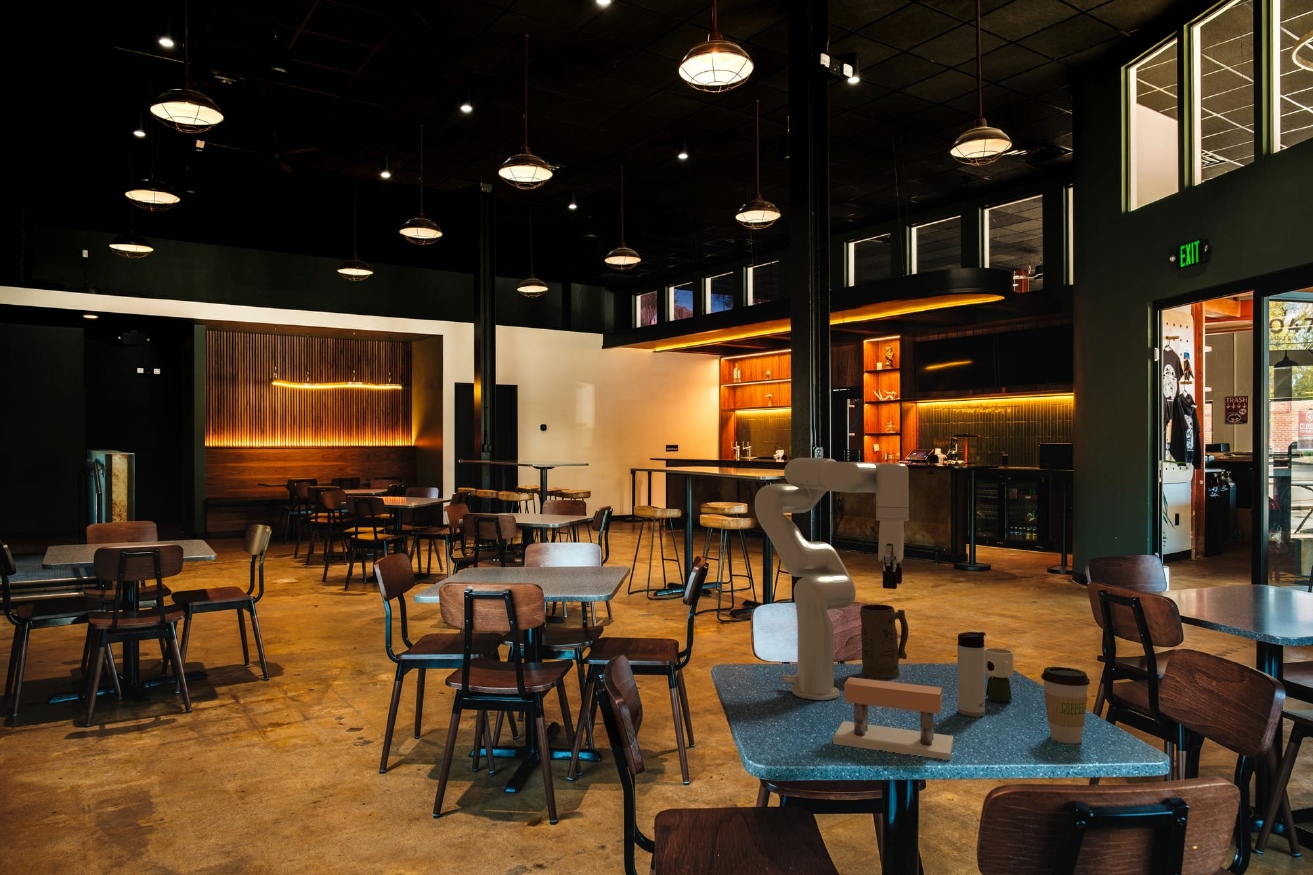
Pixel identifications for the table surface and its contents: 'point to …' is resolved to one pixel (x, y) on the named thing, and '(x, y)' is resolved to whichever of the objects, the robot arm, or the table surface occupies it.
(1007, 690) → the character mug
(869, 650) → the beer stein
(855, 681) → the shelf board
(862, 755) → the table surface
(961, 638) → the travel mug
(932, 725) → the steel pegs
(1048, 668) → the coffee cup
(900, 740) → the peg base
